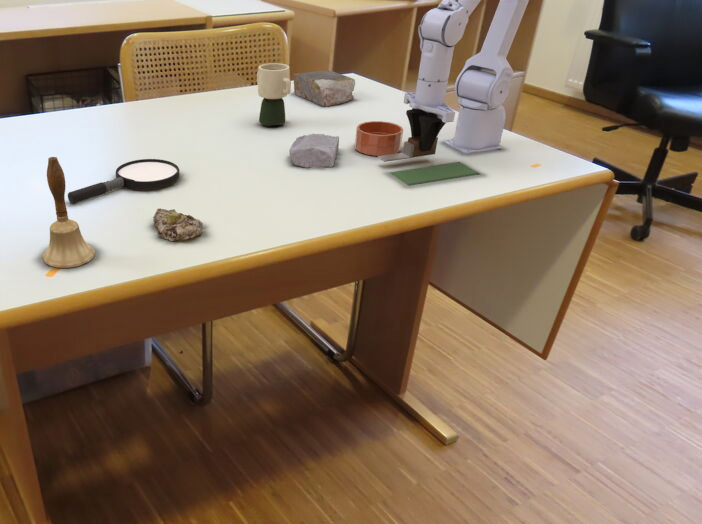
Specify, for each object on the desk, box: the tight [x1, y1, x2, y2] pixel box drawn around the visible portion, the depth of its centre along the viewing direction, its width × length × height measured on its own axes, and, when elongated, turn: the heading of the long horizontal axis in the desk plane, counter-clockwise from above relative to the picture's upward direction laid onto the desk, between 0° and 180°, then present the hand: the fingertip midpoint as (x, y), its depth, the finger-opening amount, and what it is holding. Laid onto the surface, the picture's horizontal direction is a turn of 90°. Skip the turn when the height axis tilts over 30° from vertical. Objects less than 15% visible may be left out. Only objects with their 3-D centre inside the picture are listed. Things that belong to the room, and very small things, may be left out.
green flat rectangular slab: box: [389, 161, 481, 187], centre depth 136 cm, size 17×7×1 cm, turn 110°
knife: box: [377, 136, 439, 163], centre depth 139 cm, size 12×3×3 cm, turn 110°
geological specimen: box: [293, 70, 356, 107], centre depth 180 cm, size 11×6×15 cm
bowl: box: [354, 120, 404, 157], centre depth 146 cm, size 10×10×5 cm
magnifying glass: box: [67, 158, 180, 205], centre depth 132 cm, size 12×24×2 cm, turn 132°
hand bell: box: [42, 156, 96, 269], centre depth 105 cm, size 8×8×16 cm
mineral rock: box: [152, 208, 204, 242], centre depth 116 cm, size 11×4×8 cm
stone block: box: [288, 133, 340, 169], centre depth 144 cm, size 12×5×10 cm
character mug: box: [256, 62, 292, 127], centre depth 159 cm, size 11×7×13 cm, turn 40°
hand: (421, 148), depth 140 cm, fingers closed on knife, 2 cm apart
